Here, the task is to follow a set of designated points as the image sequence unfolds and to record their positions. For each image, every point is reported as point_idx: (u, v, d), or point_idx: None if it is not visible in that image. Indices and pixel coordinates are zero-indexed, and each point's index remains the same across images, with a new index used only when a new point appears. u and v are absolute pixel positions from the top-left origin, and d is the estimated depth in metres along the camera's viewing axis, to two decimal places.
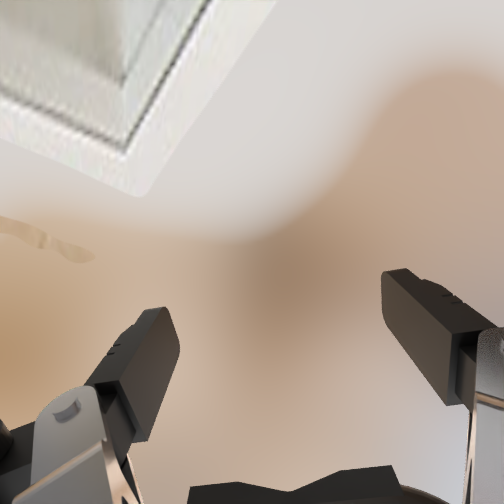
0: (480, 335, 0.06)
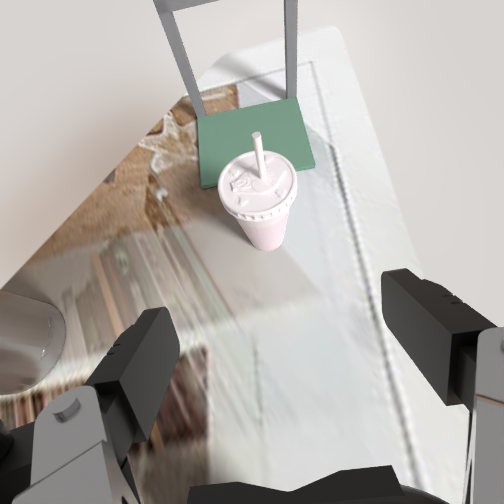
0: (480, 335, 0.06)
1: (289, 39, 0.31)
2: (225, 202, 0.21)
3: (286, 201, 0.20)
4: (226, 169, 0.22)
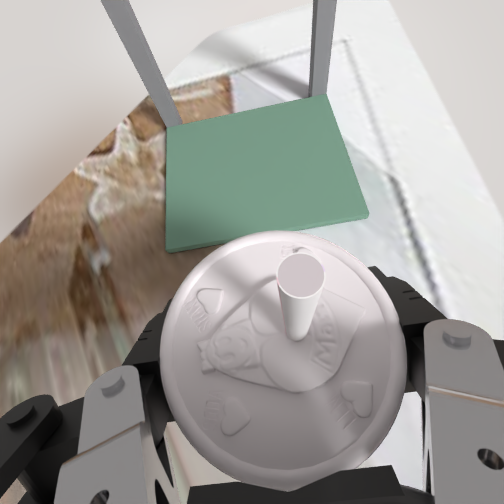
0: (426, 326, 0.06)
1: None
2: (177, 417, 0.07)
3: (382, 436, 0.06)
4: (189, 287, 0.08)
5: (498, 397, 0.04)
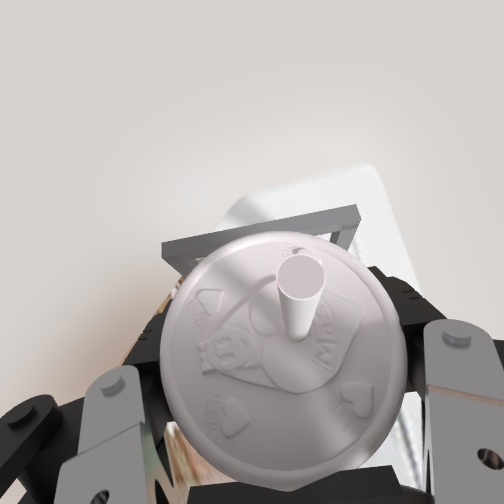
0: (426, 326, 0.06)
1: None
2: (177, 418, 0.07)
3: (383, 438, 0.06)
4: (190, 288, 0.08)
5: (498, 397, 0.04)
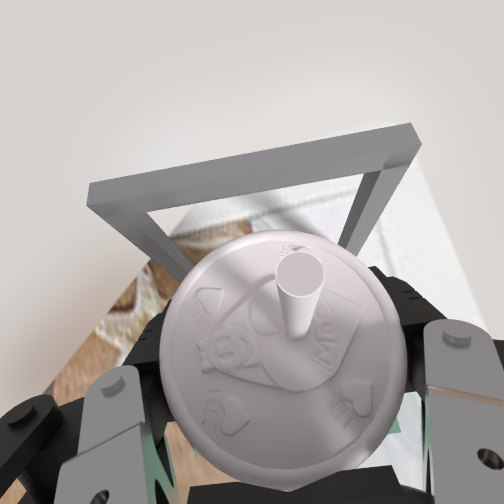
0: (426, 326, 0.06)
1: (361, 224, 0.16)
2: (177, 417, 0.07)
3: (382, 436, 0.06)
4: (189, 287, 0.08)
5: (498, 397, 0.04)
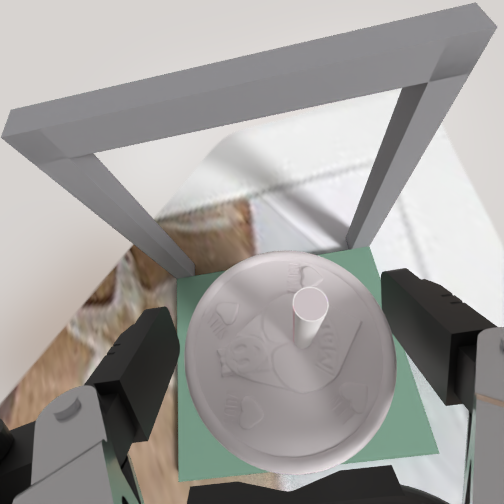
0: (480, 335, 0.06)
1: (388, 183, 0.13)
2: (201, 413, 0.08)
3: (375, 429, 0.07)
4: (209, 301, 0.09)
5: None
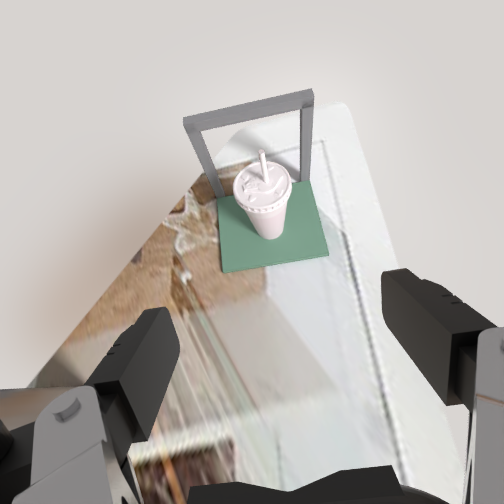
0: (480, 335, 0.06)
1: (304, 143, 0.34)
2: (238, 199, 0.29)
3: (283, 198, 0.28)
4: (239, 175, 0.30)
5: None
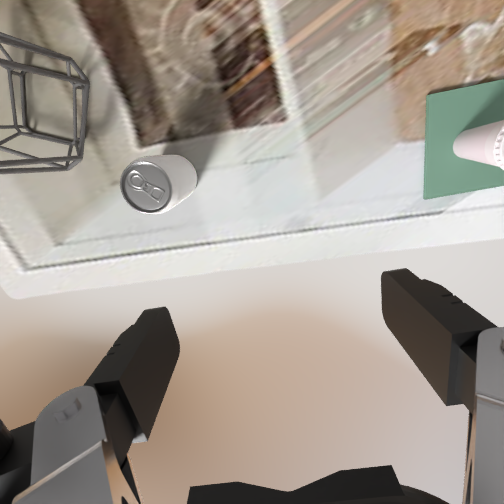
0: (480, 335, 0.06)
1: None
2: None
3: None
4: None
5: None
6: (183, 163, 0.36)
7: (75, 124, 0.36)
